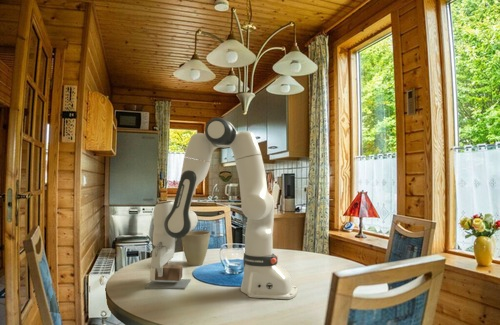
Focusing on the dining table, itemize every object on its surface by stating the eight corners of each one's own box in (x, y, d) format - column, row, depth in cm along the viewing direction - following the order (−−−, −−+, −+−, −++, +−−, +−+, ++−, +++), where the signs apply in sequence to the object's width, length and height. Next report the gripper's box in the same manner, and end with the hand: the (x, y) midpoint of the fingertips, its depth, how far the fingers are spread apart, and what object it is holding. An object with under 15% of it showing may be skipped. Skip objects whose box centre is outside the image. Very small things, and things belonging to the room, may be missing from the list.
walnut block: (182, 265, 140) (154, 264, 141) (179, 268, 135) (150, 267, 136) (182, 277, 140) (154, 276, 141) (179, 281, 135) (150, 280, 136)
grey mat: (190, 280, 143) (190, 279, 143) (184, 289, 132) (184, 287, 132) (153, 280, 144) (153, 278, 144) (144, 288, 133) (144, 286, 133)
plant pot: (211, 260, 178) (212, 230, 179) (207, 268, 163) (207, 235, 164) (183, 260, 178) (184, 230, 179) (177, 267, 164) (177, 235, 164)
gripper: (163, 245, 128) (162, 282, 127) (177, 236, 149) (176, 267, 148) (147, 245, 128) (146, 281, 128) (163, 235, 149) (162, 267, 148)
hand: (163, 274), depth 138 cm, fingers closed on walnut block, 5 cm apart
